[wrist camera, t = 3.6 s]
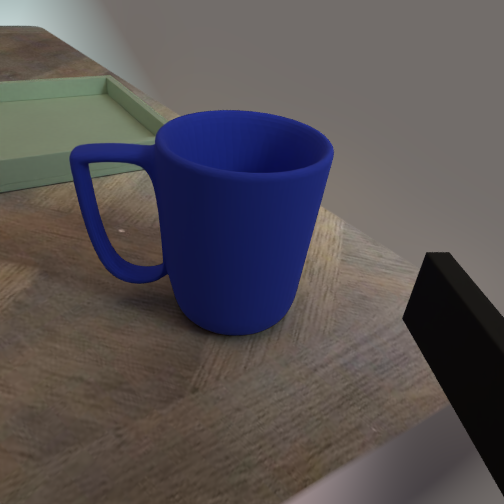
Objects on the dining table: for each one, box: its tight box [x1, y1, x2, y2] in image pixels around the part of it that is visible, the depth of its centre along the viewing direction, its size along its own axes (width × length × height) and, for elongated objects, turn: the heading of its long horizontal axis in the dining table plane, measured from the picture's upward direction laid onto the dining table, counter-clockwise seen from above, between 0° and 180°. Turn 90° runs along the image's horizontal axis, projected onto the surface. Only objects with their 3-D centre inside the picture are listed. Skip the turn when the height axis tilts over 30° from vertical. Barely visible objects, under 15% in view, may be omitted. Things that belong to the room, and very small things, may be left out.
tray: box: [0, 75, 169, 193], centre depth 45 cm, size 22×18×3 cm
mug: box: [69, 110, 334, 335], centre depth 24 cm, size 8×12×10 cm
